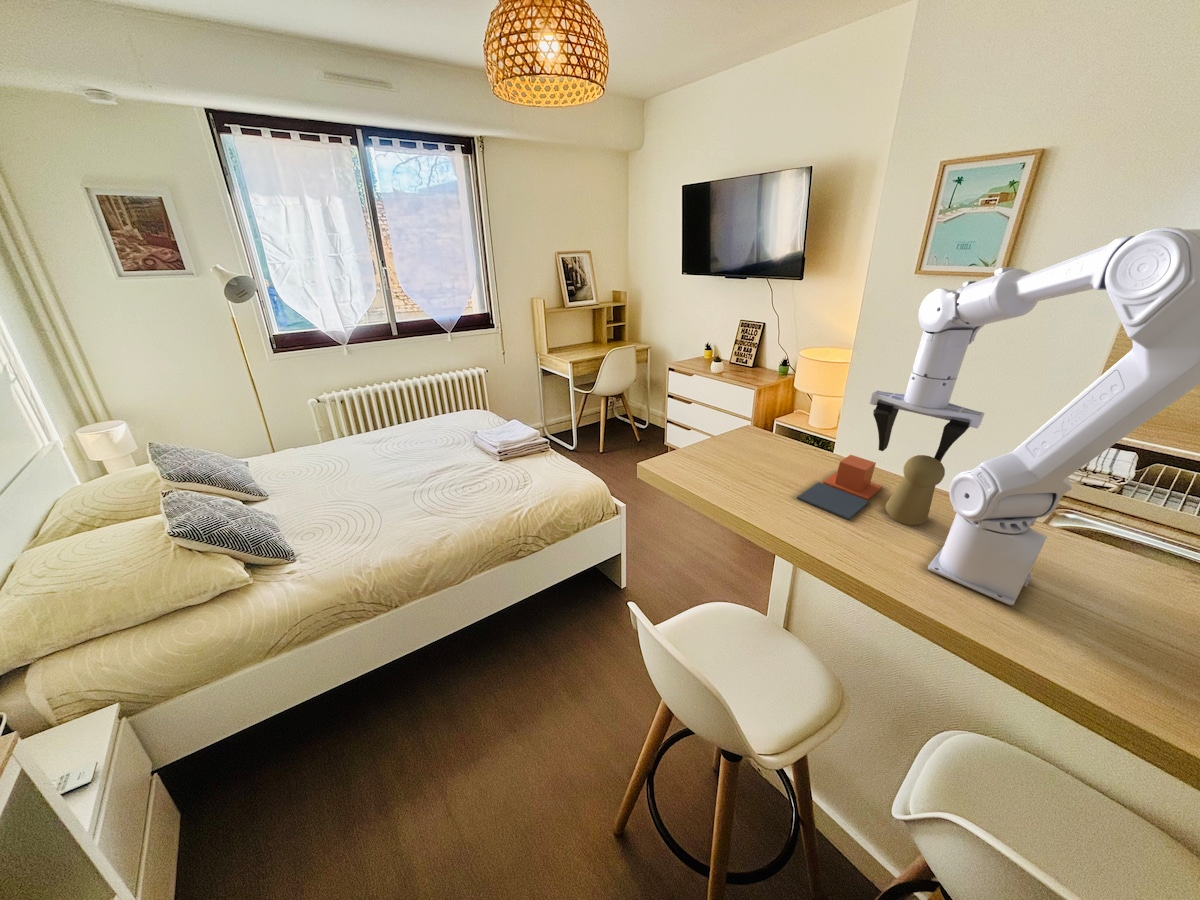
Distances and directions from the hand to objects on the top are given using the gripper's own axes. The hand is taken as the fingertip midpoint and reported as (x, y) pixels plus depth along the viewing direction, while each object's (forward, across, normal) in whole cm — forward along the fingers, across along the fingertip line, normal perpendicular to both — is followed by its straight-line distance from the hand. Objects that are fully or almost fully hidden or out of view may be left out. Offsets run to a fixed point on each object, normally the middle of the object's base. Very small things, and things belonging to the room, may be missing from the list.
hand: (908, 456), depth 75 cm
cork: (+9, -2, +1) cm, 10 cm away
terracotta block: (+9, +8, -3) cm, 13 cm away
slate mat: (+10, +8, +5) cm, 14 cm away
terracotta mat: (+10, +8, -3) cm, 13 cm away
